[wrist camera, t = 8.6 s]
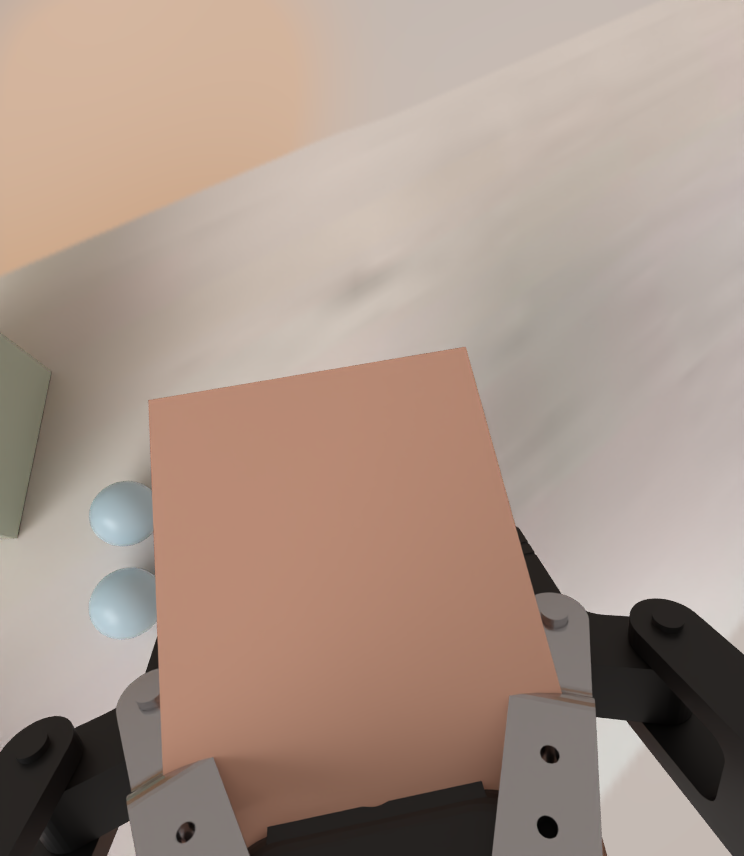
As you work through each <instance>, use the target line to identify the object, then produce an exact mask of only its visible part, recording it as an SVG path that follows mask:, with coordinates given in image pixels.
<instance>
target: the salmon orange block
mask: <svg viewBox="0 0 744 856" xmlns="http://www.w3.org/2000/svg"><path fill="white" fill-rule="evenodd" d="M148 402H149V428H150V454H151V480H152V506H153V532H154V557H155V583H156V609H157V635H158V661H159V687H160V713H161V739H162V765H163V775H165V774H167V773H169V772H171V771H174V770H176V769H178V768H180V767H183V766H185V765H188V764H191V763H194V762H197V761H200V760H203V759H207V758H211V757H213V758H214V761H215V763H216V766H217V768H218V771H219V773H220V776H221V778H222V781H223V784H224V786H225V789H226V791H227V794H228V796H229V799H230V801H231V804H232V807H233V809H234V812H235V814H236V817H237V820H238V823H239V825H240V828H241V831H242V833H243V836H244V839H245V841H246V844H247V847H249V846H251V845H252V844H254V843H256V842H257V841H259V840H261V839H263V838H265V837H267V827H269V826H274V825H279V824H283V823H288V822H293V821H297V820H302V819H306V818H311V817H316V816H320V815H325V814H330V813H334V812H339V811H344V810H348V809H353V808H358V807H362V806H364V807H376V806H379V805H382V804H384V803H385V802H387V801H390V800H395V799H399V798H404V797H409V796H413V795H418V794H423V793H427V792H432V791H436V790H441V789H446V788H450V787H455V786H460V785H464V784H469V783H474V782H478V781H482V784H483V787H484V789H489V790H498V791H499V786H500V777H501V768H502V758H503V749H504V740H505V731H506V722H507V712H508V703H509V696H510V695H517V694H525V693H562V692H561V688H560V684H559V681H558V677H557V674H556V670H555V666H554V663H553V659H552V656H551V652H550V648H549V645H548V641H547V638H546V634H545V630H544V627H543V623H542V620H541V616H540V612H539V609H538V605H537V602H536V598H535V595H534V591H533V587H532V584H531V580H530V577H529V573H528V569H527V566H526V562H525V559H524V555H523V551H522V548H521V544H520V541H519V537H518V533H517V530H516V526H515V523H514V519H513V515H512V512H511V508H510V505H509V501H508V497H507V494H506V490H505V487H504V483H503V479H502V476H501V472H500V469H499V465H498V461H497V458H496V454H495V451H494V447H493V443H492V440H491V436H490V433H489V429H488V425H487V422H486V418H485V415H484V411H483V407H482V404H481V400H480V397H479V393H478V389H477V386H476V382H475V379H474V375H473V371H472V368H471V364H470V361H469V357H468V353H467V350H466V347H461V348H455V349H449V350H444V351H438V352H432V353H426V354H420V355H414V356H408V357H402V358H396V359H390V360H384V361H378V362H372V363H366V364H360V365H355V366H349V367H343V368H337V369H331V370H325V371H319V372H313V373H307V374H301V375H295V376H289V377H283V378H277V379H272V380H266V381H260V382H254V383H248V384H242V385H236V386H230V387H224V388H218V389H212V390H206V391H200V392H194V393H188V394H183V395H177V396H171V397H165V398H159V399H153V400H148ZM602 853H603V856H607V854H606V850H605V846H604V843H603V839H602Z"/></svg>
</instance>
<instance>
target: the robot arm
mask: <svg viewBox="0 0 744 856" xmlns="http://www.w3.org/2000/svg"><path fill="white" fill-rule="evenodd" d="M516 530H517V533H518V537H519V541H520V544H521V548H522V551H523V555H524V559H525V562H526V566H527V569H528V573H529V577H530V580H531V584H532V587H533V591H534V595H535V598H536V602H537V605H538V609H539V612H540V616H541V620H542V623H543V627H544V630H545V634H546V638H547V641H548V645H549V648H550V652H551V656H552V659H553V663H554V666H555V670H556V674H557V677H558V681H559V684H560V688H561V692H562V693H525V694H517V695H510V696H509V703H508V712H507V722H506V731H505V740H504V749H503V758H502V768H501V777H500V786H499V791H498V790H489V789H484V787H483V784H482V781H478V782H474V783H469V784H464V785H460V786H455V787H450V788H446V789H441V790H436V791H432V792H427V793H423V794H418V795H413V796H409V797H404V798H399V799H395V800H390V801H387V802H385V803H384V804H382V805H379V806H376V807H364V806H362V807H358V808H353V809H348V810H344V811H339V812H334V813H330V814H325V815H320V816H316V817H311V818H306V819H302V820H297V821H293V822H288V823H283V824H279V825H274V826H269V827H267V837H265V838H263V839H261V840H259V841H257V842H256V843H254V844H252V845H251V846H249V847H247V844H246V841H245V839H244V836H243V833H242V831H241V828H240V825H239V823H238V820H237V817H236V814H235V812H234V809H233V807H232V804H231V801H230V799H229V796H228V794H227V791H226V789H225V786H224V784H223V781H222V778H221V776H220V773H219V771H218V768H217V766H216V763H215V761H214V758H213V757H211V758H207V759H203V760H200V761H197V762H194V763H191V764H188V765H185V766H183V767H180V768H178V769H176V770H174V771H171V772H169V773H167V774H165V775H163V765H162V739H161V713H160V687H159V661H158V636H157V639H156V642H155V645H154V648H153V651H152V654H151V657H150V660H149V663H148V667H147V670H146V673H145V674H143V675H142V676H140V677H139V678H137V679H136V680H135V681H133V682H132V683H131V684H130V685H129V686H128V687H127V688H126V689H125V691H124V692H123V693H122V695H121V697H120V699H119V701H118V703H117V707H116V708H115V709H113V710H112V711H110V712H108V713H106V714H104V715H102V716H99V717H97V718H95V719H93V720H91V721H89V722H87V723H85V724H82V725H80V726H78V727H76V728H74V726H73V725H72V723H71V722H70V721H69V720H68V719H67V718H65V717H61V716H53V717H48V718H44V719H41V720H39V721H36V722H34V723H33V724H31V725H29V726H27V727H26V728H24V729H23V730H22V731H20V732H19V733H18V734H16V735H15V736H14V737H13V738H12V739H11V740H10V741H9V742H8V743H7V744H6V745H5V747H4V748H3V749H2V751H1V752H0V856H107V854H108V852H109V849H110V847H111V845H112V842H113V840H114V837H115V835H116V832H117V830H118V827H119V826H121V825H123V824H124V823H126V822H128V821H130V825H131V831H132V836H133V841H134V847H135V852H136V856H603V853H602V832H601V812H600V791H599V771H598V751H597V730H596V717H600V718H609V719H618V720H626V721H627V722H628V724H629V725H630V726H631V727H632V729H633V730H634V731H635V733H636V734H637V735H638V736H639V738H640V739H641V740H642V741H643V743H644V744H645V745H646V747H647V748H648V749H649V750H650V752H651V753H652V754H653V755H654V756H655V758H656V759H657V760H658V762H659V763H660V764H661V766H662V767H663V768H664V769H665V771H666V772H667V773H668V774H669V776H670V777H671V778H672V780H673V781H674V782H675V783H676V785H677V786H678V787H679V788H680V790H681V791H682V792H683V794H684V795H685V796H686V797H687V799H688V800H689V801H690V802H691V804H692V805H693V806H694V808H695V809H696V810H697V811H698V812H699V814H700V815H701V816H702V818H703V819H704V820H705V821H706V823H707V824H708V825H709V827H710V828H711V829H712V830H713V832H714V833H715V834H716V835H717V837H718V838H719V839H720V841H721V842H722V843H723V844H724V846H725V847H726V848H727V849H728V851H729V852H730V853H731V854H732V856H744V654H742V653H741V652H740V651H739V650H738V649H737V648H735V647H734V646H733V645H732V644H731V643H730V642H729V641H727V640H726V639H725V638H724V637H723V636H722V635H720V634H719V633H718V632H717V631H716V630H715V629H713V628H712V627H711V626H710V625H709V624H708V623H706V622H705V621H704V620H703V619H702V618H701V617H699V616H698V615H697V614H696V613H695V612H693V611H692V610H691V609H689V608H687V607H686V606H684V605H682V604H679V603H677V602H674V601H670V600H666V599H647V600H643V601H640V602H638V603H637V604H635V605H634V606H633V608H632V609H631V611H630V617H628V616H613V615H600V614H594V613H590V612H587V611H586V610H585V609H584V607H583V606H582V605H581V604H580V603H578V602H577V601H576V600H574V599H572V598H571V597H568V596H566V595H563V594H561V593H560V591H559V589H558V588H557V586H556V585H555V583H554V582H553V580H552V579H551V577H550V575H549V574H548V572H547V571H546V569H545V568H544V566H543V565H542V563H541V562H540V560H539V558H538V557H537V555H535V553H534V551H533V549H532V548H531V546H530V544H528V541H527V540H526V538H525V537H524V535H523V534H522V532H521V531H520V529H519V528H518V527H516Z"/></svg>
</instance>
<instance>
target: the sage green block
mask: <svg viewBox="0 0 744 856" xmlns="http://www.w3.org/2000/svg"><path fill="white" fill-rule="evenodd" d="M50 376H51V371H50V370H49V369H47V368H46V367H45V366H43V365H42V364H41V363H39V362H38V361H37V360H35V359H34V358H33V357H32V356H30V355H29V354H28V353H26V352H25V351H24V350H22V349H21V348H20V347H18V346H17V345H16V344H14V343H13V342H12V341H10V340H9V339H8V338H7V337H5V336H4V335H3V334H1V333H0V539H14V538H17V536H18V531H19V526H20V522H21V517H22V512H23V507H24V502H25V497H26V492H27V488H28V483H29V478H30V473H31V468H32V463H33V459H34V454H35V449H36V444H37V439H38V434H39V429H40V425H41V420H42V415H43V410H44V405H45V400H46V395H47V391H48V386H49V381H50Z"/></svg>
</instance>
